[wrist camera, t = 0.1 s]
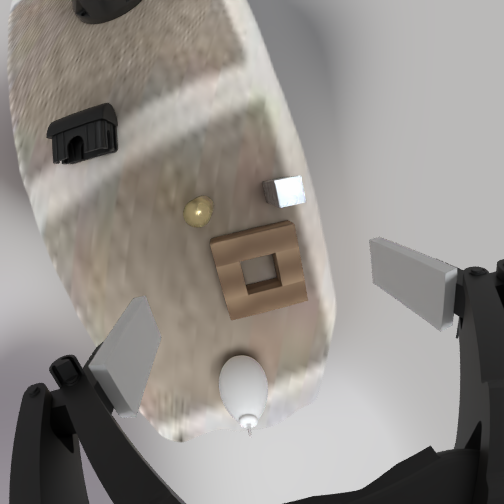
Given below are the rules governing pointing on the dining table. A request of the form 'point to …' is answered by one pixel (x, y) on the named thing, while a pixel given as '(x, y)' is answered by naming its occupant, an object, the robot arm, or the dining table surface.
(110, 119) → the end cap
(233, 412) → the white air blower
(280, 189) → the square bit
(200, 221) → the round bit
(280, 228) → the socket board
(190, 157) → the dining table surface
